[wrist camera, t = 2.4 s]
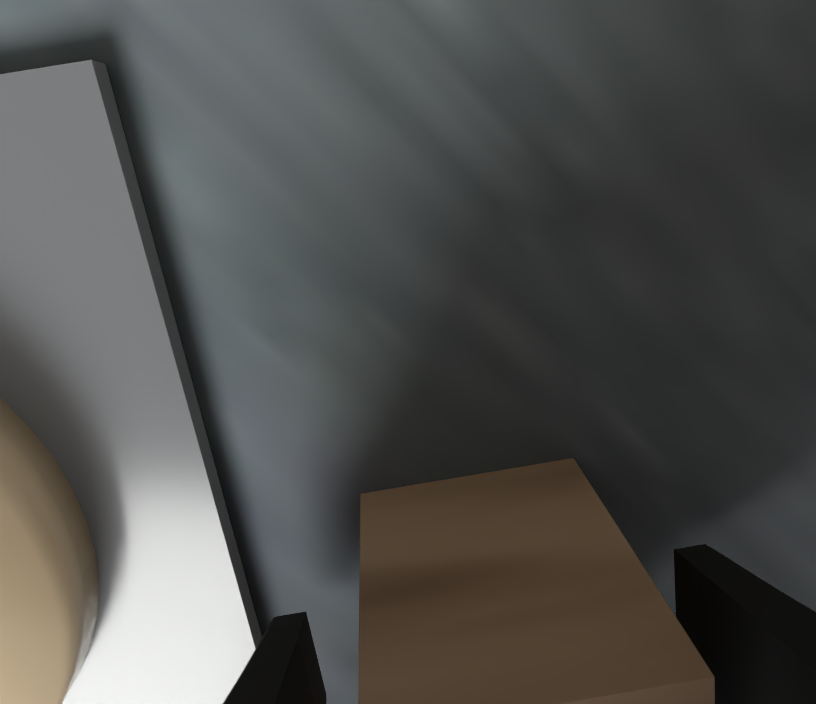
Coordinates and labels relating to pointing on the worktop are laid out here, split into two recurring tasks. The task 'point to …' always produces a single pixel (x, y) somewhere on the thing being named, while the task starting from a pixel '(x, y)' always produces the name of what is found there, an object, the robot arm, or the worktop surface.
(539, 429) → the worktop surface
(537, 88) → the worktop surface
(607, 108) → the worktop surface
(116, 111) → the base
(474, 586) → the block
